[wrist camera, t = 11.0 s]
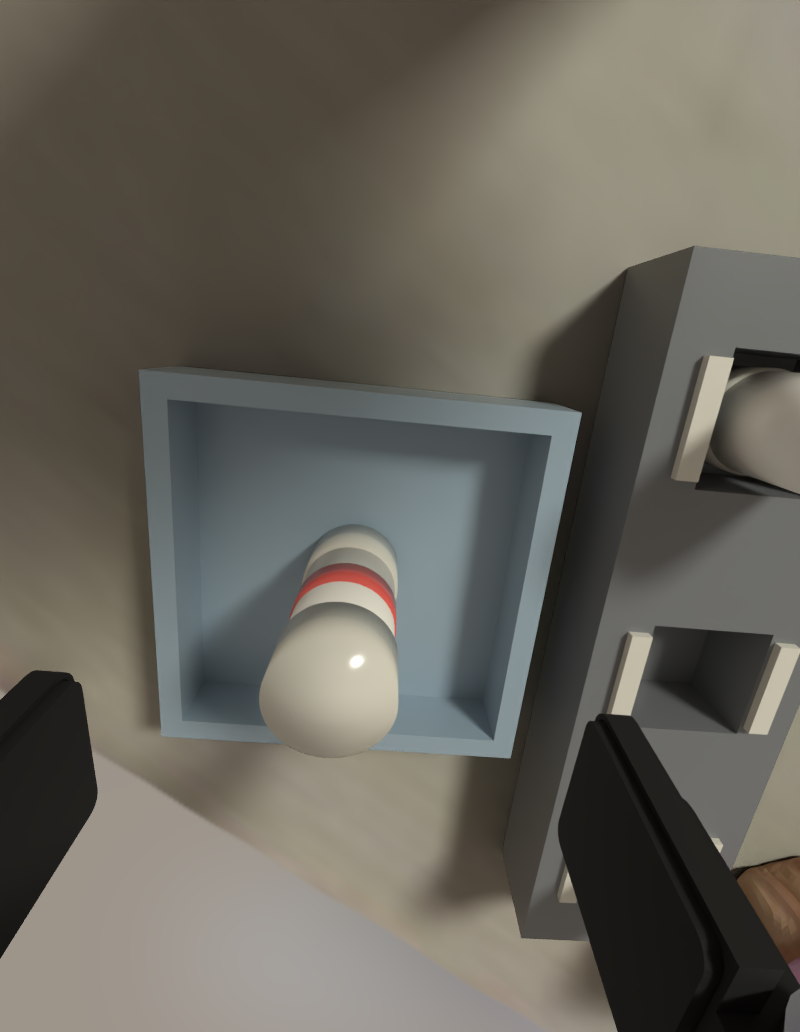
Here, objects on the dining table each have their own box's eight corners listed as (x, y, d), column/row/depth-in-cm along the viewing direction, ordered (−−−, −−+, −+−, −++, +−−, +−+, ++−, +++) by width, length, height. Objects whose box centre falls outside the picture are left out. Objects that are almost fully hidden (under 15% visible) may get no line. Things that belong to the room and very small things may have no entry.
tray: (177, 366, 18) (138, 369, 15) (552, 402, 19) (582, 412, 16) (190, 686, 22) (161, 736, 20) (495, 707, 23) (510, 758, 20)
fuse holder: (627, 267, 17) (701, 243, 13) (850, 292, 18) (988, 276, 14) (501, 851, 26) (523, 945, 22) (654, 859, 26) (703, 953, 22)
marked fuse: (312, 520, 19) (258, 638, 12) (401, 528, 19) (404, 648, 12) (309, 599, 20) (258, 753, 13) (393, 606, 21) (392, 762, 13)
